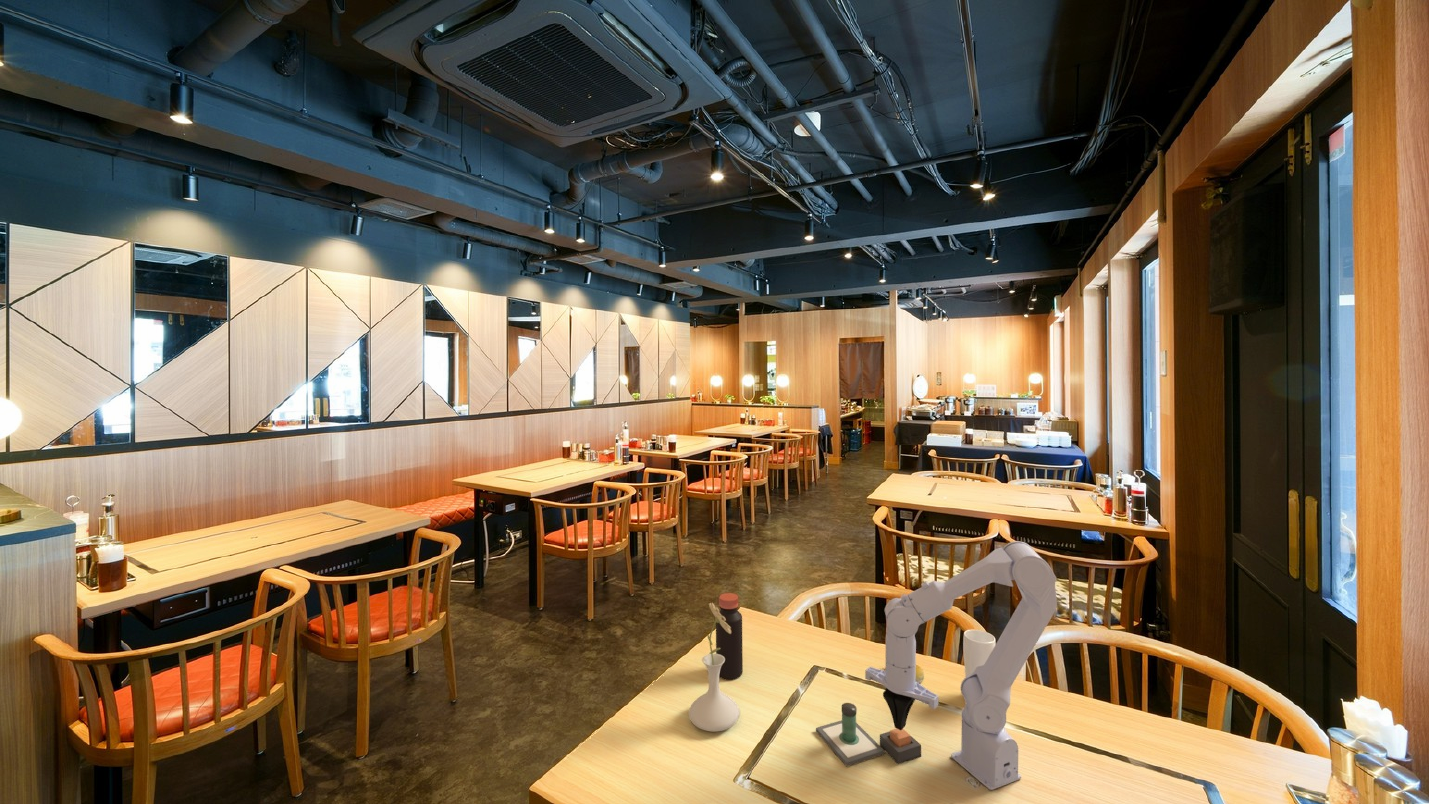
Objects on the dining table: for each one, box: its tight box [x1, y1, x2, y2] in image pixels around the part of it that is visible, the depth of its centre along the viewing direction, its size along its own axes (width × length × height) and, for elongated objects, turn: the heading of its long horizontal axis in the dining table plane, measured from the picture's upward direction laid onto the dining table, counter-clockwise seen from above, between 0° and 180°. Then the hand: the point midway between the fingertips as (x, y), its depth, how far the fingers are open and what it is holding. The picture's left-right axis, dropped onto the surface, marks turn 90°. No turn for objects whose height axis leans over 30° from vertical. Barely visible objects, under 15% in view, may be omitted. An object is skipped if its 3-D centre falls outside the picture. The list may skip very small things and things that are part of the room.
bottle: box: [715, 592, 744, 681], centre depth 134 cm, size 7×7×20 cm
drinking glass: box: [962, 629, 997, 678], centre depth 122 cm, size 7×7×15 cm
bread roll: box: [916, 664, 925, 684], centre depth 133 cm, size 8×9×4 cm
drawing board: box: [815, 719, 885, 767], centre depth 108 cm, size 11×9×1 cm
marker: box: [841, 702, 858, 742], centre depth 108 cm, size 3×3×6 cm
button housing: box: [879, 730, 922, 765], centre depth 106 cm, size 6×6×2 cm
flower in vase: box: [688, 602, 741, 732], centre depth 116 cm, size 13×11×25 cm
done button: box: [889, 728, 912, 748], centre depth 106 cm, size 3×3×2 cm
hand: (900, 726), depth 106 cm, fingers closed
